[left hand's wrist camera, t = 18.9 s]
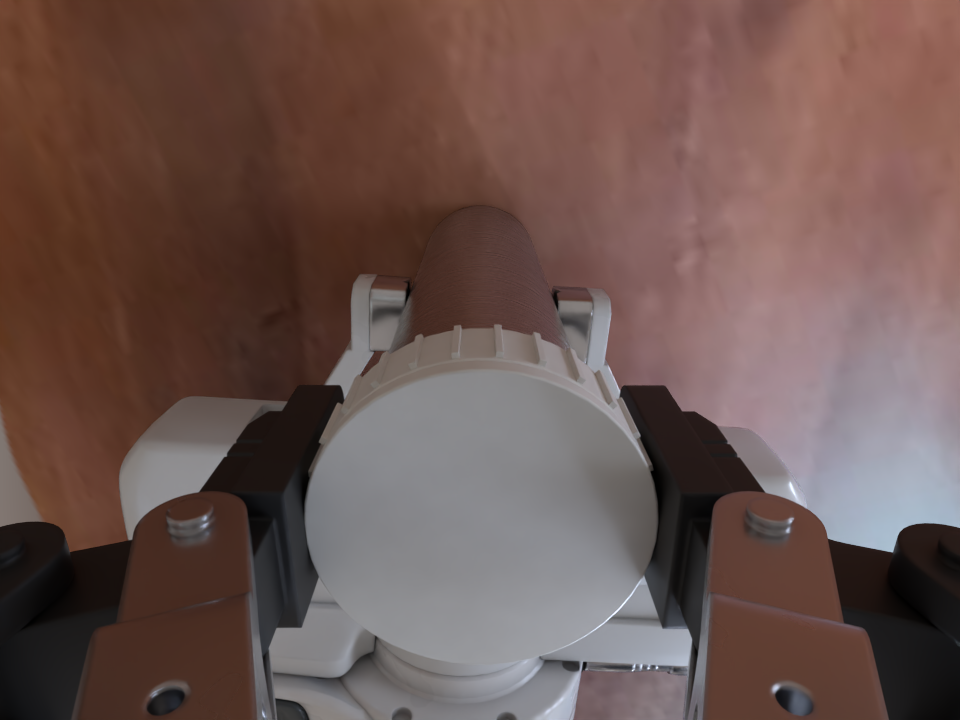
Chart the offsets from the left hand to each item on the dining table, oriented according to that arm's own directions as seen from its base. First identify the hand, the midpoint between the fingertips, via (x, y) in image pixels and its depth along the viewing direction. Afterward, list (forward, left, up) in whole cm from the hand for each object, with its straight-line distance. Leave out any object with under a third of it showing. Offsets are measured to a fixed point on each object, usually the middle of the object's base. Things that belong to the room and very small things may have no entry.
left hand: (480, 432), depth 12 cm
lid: (0, 0, +3) cm, 3 cm away
